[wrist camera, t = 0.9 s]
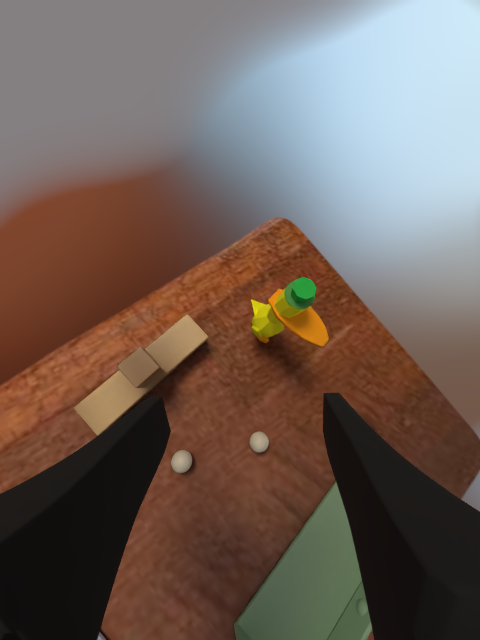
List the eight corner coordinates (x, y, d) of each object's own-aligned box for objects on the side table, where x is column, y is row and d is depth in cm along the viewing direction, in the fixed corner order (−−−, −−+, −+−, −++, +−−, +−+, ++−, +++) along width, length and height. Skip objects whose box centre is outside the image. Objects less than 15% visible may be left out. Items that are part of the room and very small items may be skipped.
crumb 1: (181, 474, 23) (180, 480, 22) (167, 459, 23) (166, 464, 22) (196, 458, 24) (196, 463, 22) (183, 443, 24) (182, 447, 22)
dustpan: (233, 624, 21) (239, 658, 19) (349, 461, 26) (367, 469, 24) (314, 718, 21) (332, 766, 18) (417, 532, 26) (443, 549, 23)
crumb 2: (256, 454, 25) (261, 459, 23) (244, 440, 25) (247, 444, 23) (269, 439, 26) (275, 443, 24) (256, 426, 26) (261, 429, 24)
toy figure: (296, 343, 28) (367, 315, 17) (276, 367, 27) (337, 354, 16) (252, 301, 29) (293, 246, 17) (230, 323, 28) (259, 279, 16)
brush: (107, 430, 23) (79, 446, 17) (85, 405, 23) (49, 412, 17) (206, 341, 27) (211, 328, 21) (187, 320, 27) (186, 301, 21)
